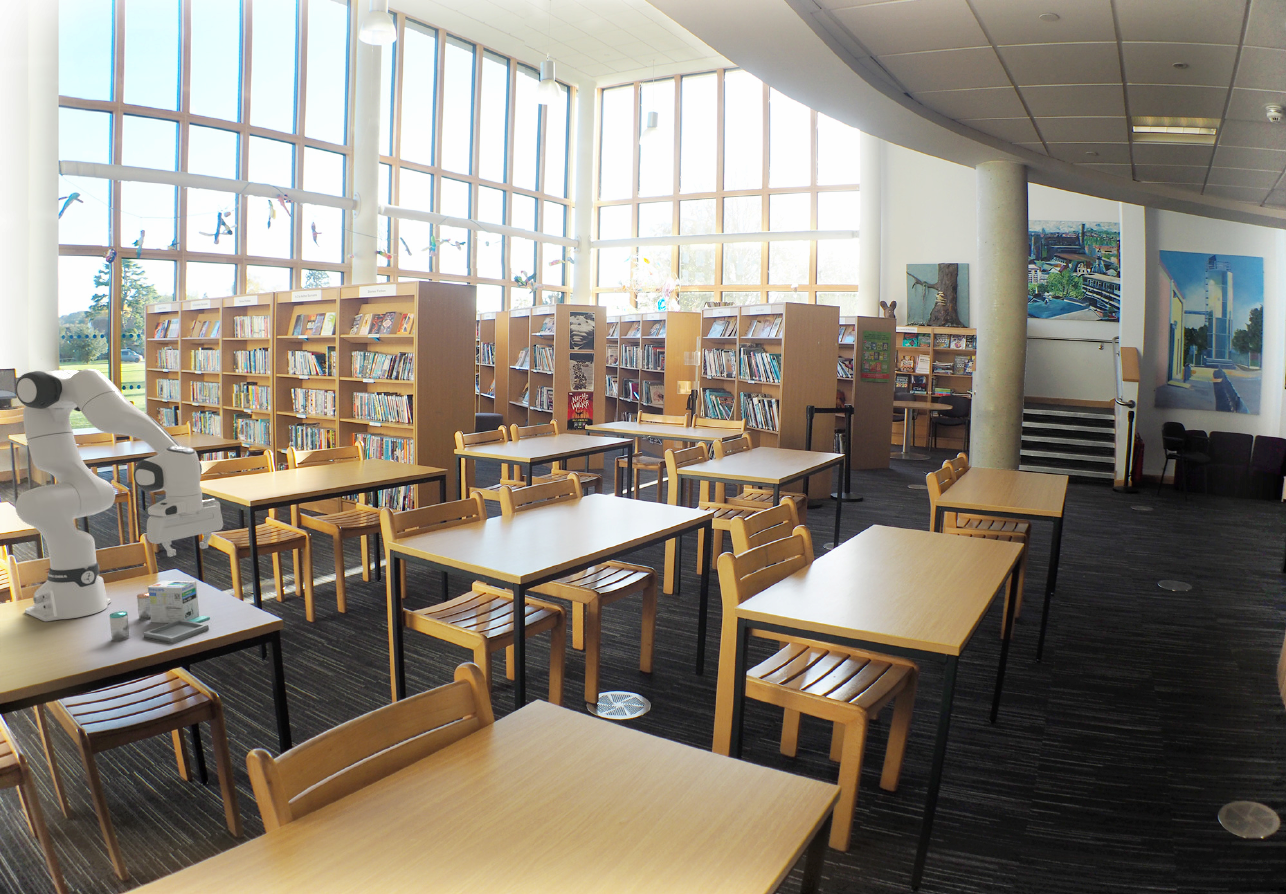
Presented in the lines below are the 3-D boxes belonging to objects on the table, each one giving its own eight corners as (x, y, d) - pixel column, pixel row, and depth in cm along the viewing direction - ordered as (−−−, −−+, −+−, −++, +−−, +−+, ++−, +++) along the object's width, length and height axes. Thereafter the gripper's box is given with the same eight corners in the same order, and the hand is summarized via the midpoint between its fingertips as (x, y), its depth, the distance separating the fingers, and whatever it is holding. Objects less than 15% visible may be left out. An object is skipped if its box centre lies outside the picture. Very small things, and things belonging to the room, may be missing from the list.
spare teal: (108, 640, 211) (106, 615, 210) (122, 634, 215) (120, 610, 214) (118, 642, 210) (116, 616, 209) (133, 636, 213) (130, 612, 212)
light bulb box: (200, 616, 230) (197, 580, 228) (184, 624, 223) (181, 587, 222) (166, 614, 231) (163, 579, 229) (149, 623, 224) (146, 586, 223)
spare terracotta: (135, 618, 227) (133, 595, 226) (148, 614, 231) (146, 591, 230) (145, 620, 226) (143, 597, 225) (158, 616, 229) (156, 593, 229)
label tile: (186, 623, 224) (186, 621, 224) (202, 617, 228) (202, 615, 228) (194, 624, 223) (194, 622, 223) (209, 618, 227) (209, 616, 227)
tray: (143, 638, 212) (143, 632, 212) (180, 624, 223) (180, 619, 222) (172, 643, 208) (171, 638, 208) (208, 629, 218) (208, 624, 218)
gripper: (212, 496, 231) (215, 542, 232) (141, 509, 212) (145, 559, 214) (226, 498, 228) (229, 545, 229) (155, 511, 210) (159, 562, 211)
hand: (188, 551), depth 222 cm, fingers open, 8 cm apart
